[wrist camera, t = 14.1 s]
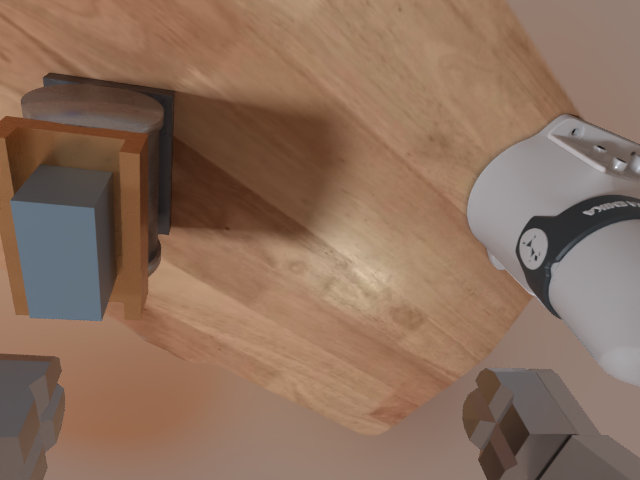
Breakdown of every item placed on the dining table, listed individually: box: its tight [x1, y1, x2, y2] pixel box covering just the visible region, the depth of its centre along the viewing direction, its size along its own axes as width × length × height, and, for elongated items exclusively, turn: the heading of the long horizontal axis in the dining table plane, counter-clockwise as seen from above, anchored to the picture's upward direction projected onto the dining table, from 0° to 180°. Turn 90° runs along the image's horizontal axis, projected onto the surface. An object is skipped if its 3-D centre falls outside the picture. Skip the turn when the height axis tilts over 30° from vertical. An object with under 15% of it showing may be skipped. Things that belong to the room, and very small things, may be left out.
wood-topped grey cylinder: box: [0, 73, 175, 320], centre depth 39 cm, size 10×14×14 cm
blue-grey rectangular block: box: [10, 164, 117, 321], centre depth 33 cm, size 4×11×5 cm, turn 169°
